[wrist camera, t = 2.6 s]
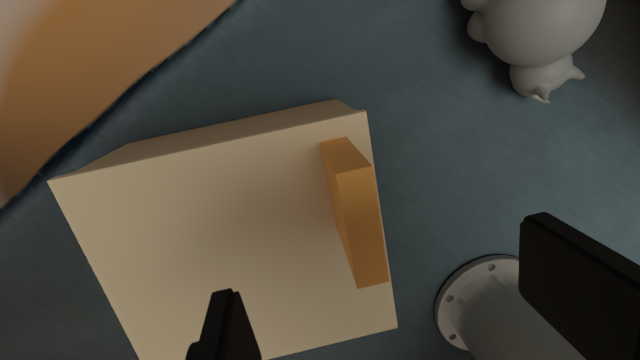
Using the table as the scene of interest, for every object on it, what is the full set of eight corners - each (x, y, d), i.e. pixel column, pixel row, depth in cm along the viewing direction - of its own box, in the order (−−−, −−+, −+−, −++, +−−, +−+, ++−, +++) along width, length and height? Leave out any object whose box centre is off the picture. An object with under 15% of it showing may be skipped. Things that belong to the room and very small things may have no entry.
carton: (363, 253, 34) (390, 315, 26) (190, 294, 34) (161, 371, 25) (336, 98, 29) (359, 112, 20) (128, 142, 28) (63, 177, 20)
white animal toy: (467, 100, 33) (531, 146, 27) (445, -22, 25) (529, 3, 19) (534, 60, 32) (616, 98, 26) (533, -79, 24) (651, -72, 18)
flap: (394, 319, 26) (432, 404, 19) (157, 377, 25) (115, 485, 19) (363, 109, 20) (401, 131, 14) (55, 176, 19) (-55, 232, 13)
